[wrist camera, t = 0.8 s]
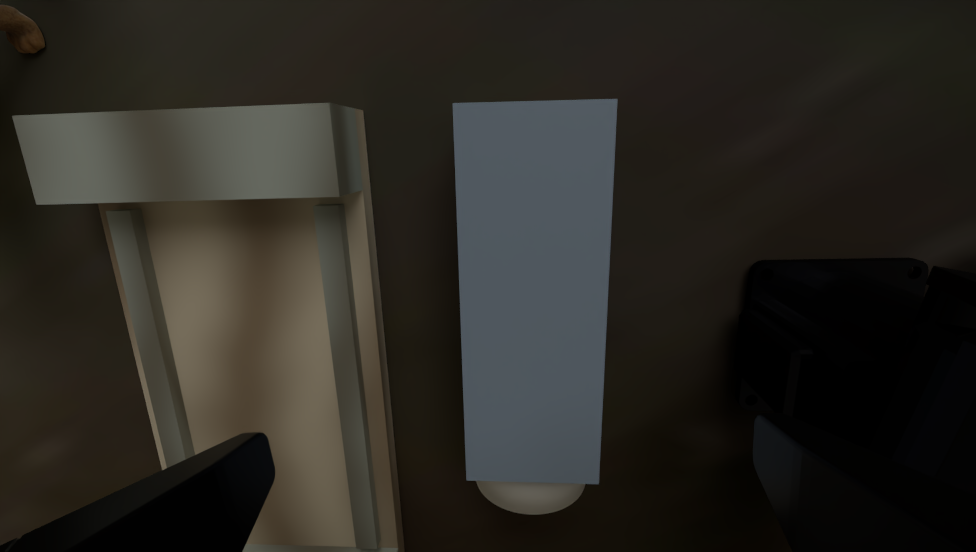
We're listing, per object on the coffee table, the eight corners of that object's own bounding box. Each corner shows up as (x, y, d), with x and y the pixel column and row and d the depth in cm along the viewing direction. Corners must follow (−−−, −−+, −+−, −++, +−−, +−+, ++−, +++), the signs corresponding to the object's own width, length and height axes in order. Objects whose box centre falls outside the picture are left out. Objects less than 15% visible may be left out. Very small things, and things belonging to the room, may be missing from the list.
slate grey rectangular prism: (587, 113, 19) (617, 98, 13) (576, 432, 22) (596, 534, 16) (473, 115, 19) (453, 103, 13) (481, 430, 22) (468, 529, 17)
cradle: (363, 110, 19) (329, 103, 15) (407, 579, 25) (389, 647, 21) (98, 120, 20) (11, 115, 16) (203, 573, 26) (155, 638, 22)
